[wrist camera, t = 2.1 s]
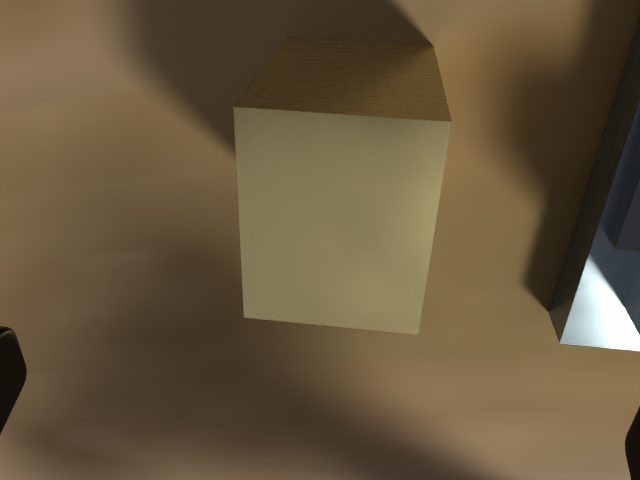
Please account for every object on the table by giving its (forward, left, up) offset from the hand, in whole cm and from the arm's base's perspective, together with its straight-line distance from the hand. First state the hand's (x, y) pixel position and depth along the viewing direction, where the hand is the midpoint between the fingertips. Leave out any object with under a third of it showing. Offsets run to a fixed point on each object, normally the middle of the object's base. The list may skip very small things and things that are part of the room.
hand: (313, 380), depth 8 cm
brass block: (0, 0, -10) cm, 10 cm away
